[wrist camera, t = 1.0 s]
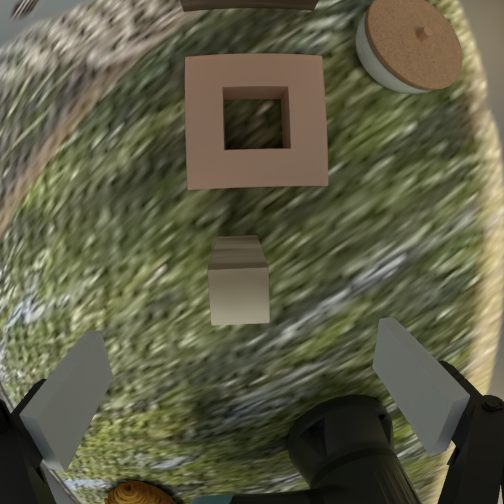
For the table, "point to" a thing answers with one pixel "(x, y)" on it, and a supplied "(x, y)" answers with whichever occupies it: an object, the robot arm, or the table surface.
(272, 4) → the capped wooden panel
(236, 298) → the peg
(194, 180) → the socket block
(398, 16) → the lidded jar
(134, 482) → the croissant
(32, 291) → the table surface
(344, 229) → the table surface
